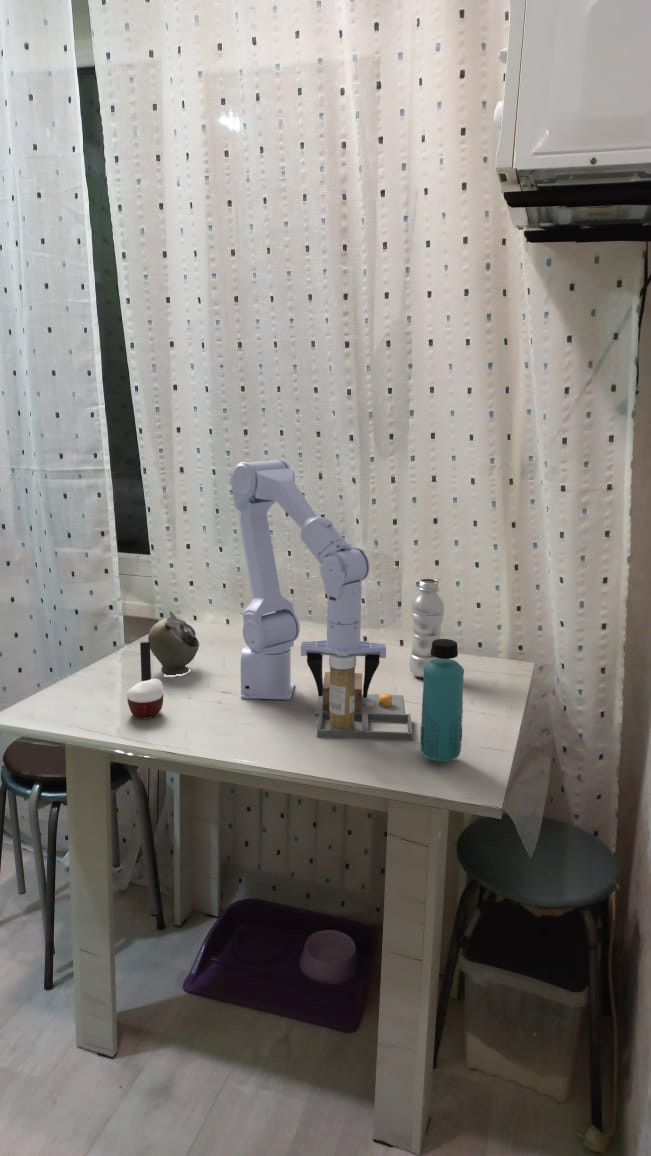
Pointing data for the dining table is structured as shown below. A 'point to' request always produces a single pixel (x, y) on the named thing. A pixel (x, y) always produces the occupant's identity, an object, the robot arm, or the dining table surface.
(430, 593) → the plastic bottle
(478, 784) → the dining table surface
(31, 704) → the dining table surface
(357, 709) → the cardboard box
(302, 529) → the robot arm
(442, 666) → the beverage bottle
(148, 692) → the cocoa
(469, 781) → the dining table surface
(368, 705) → the board
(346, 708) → the spice jar
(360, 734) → the socket frames
